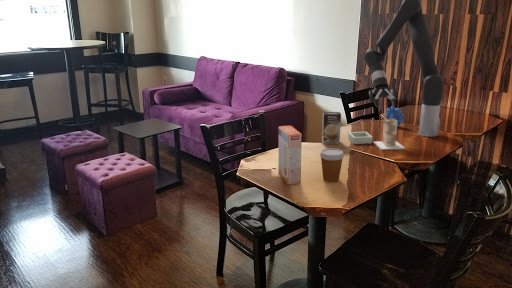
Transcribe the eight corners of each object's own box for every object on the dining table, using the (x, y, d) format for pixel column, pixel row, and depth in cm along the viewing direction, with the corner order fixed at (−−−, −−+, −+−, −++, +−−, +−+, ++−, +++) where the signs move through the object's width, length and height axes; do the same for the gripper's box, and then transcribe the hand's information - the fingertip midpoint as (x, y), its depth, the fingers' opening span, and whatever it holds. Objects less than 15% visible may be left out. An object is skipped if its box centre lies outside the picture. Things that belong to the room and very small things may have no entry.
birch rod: (391, 142, 203) (393, 118, 199) (395, 145, 198) (397, 120, 194) (382, 143, 203) (384, 118, 199) (385, 146, 198) (387, 121, 194)
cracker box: (301, 183, 157) (302, 133, 150) (287, 185, 156) (287, 134, 149) (291, 171, 170) (291, 124, 164) (278, 172, 169) (277, 125, 162)
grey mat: (395, 141, 206) (395, 140, 206) (405, 149, 195) (405, 147, 195) (373, 142, 206) (373, 141, 206) (381, 149, 195) (381, 148, 194)
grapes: (381, 125, 238) (382, 106, 234) (386, 123, 242) (387, 104, 239) (399, 128, 230) (401, 108, 227) (404, 126, 235) (406, 106, 231)
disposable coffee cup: (316, 175, 164) (317, 148, 161) (339, 174, 165) (340, 147, 162) (322, 184, 155) (323, 156, 152) (345, 183, 156) (347, 155, 152)
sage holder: (366, 137, 215) (366, 131, 214) (372, 143, 205) (372, 136, 204) (348, 138, 214) (348, 132, 213) (353, 143, 205) (353, 137, 204)
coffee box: (322, 144, 206) (323, 114, 201) (321, 140, 212) (322, 111, 207) (340, 144, 205) (341, 114, 200) (338, 140, 211) (340, 111, 206)
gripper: (368, 77, 207) (374, 102, 199) (395, 76, 207) (401, 101, 200) (364, 85, 213) (370, 110, 206) (390, 84, 214) (397, 109, 206)
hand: (385, 106), depth 203 cm, fingers open, 8 cm apart
